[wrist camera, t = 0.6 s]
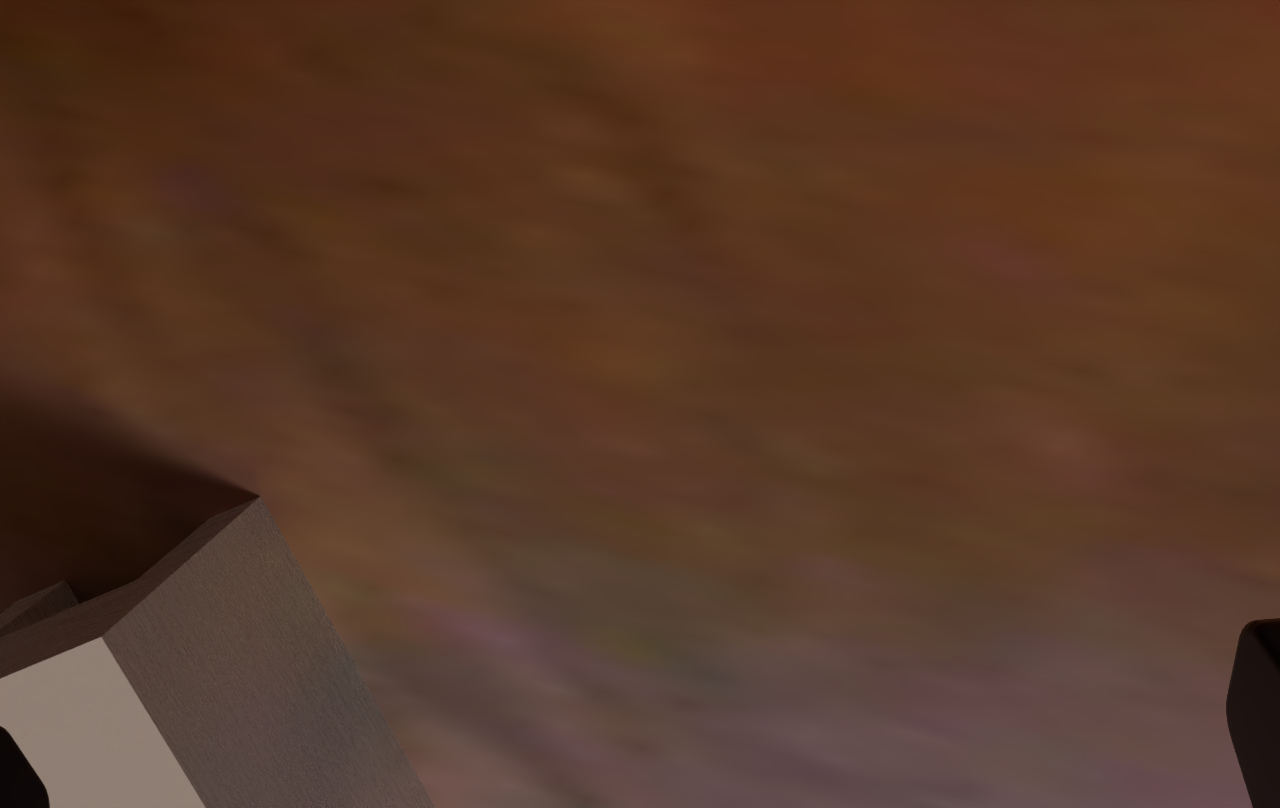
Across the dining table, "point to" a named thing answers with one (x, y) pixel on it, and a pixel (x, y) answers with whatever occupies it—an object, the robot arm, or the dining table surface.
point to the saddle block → (199, 687)
